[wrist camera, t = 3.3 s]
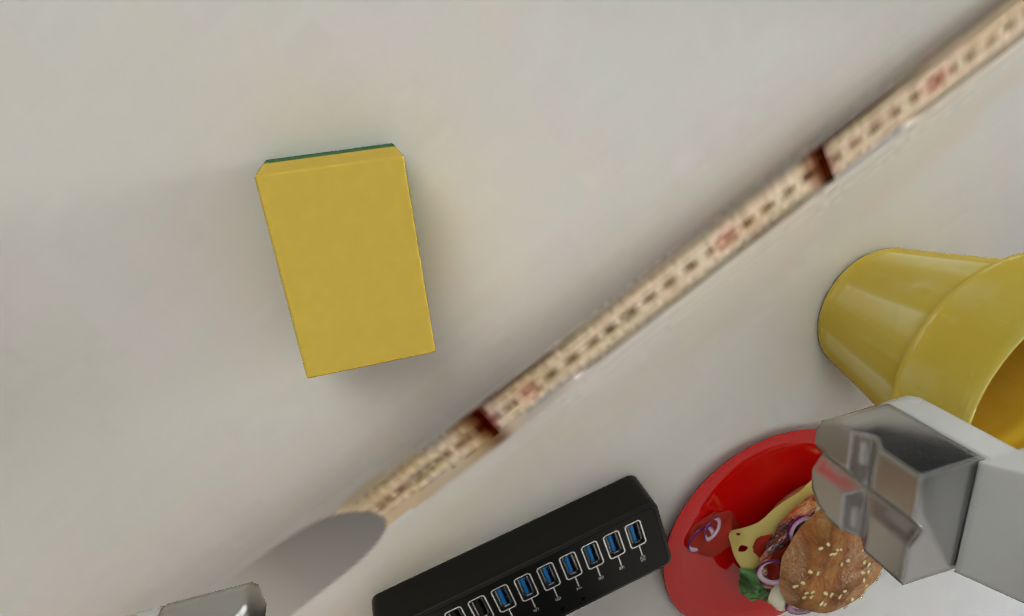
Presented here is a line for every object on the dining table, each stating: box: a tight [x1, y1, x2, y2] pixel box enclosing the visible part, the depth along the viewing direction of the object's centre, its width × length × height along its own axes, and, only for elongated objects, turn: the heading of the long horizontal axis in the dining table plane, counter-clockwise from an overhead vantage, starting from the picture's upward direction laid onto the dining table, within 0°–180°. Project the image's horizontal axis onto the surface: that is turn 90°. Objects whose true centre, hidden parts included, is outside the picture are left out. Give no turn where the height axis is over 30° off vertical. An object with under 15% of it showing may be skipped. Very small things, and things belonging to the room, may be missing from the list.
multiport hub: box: [372, 476, 671, 616], centre depth 30 cm, size 4×14×2 cm, turn 108°
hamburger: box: [663, 430, 882, 616], centre depth 33 cm, size 14×14×6 cm
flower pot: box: [818, 248, 1024, 450], centre depth 27 cm, size 10×10×10 cm
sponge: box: [255, 143, 435, 378], centre depth 22 cm, size 7×4×4 cm, turn 5°
